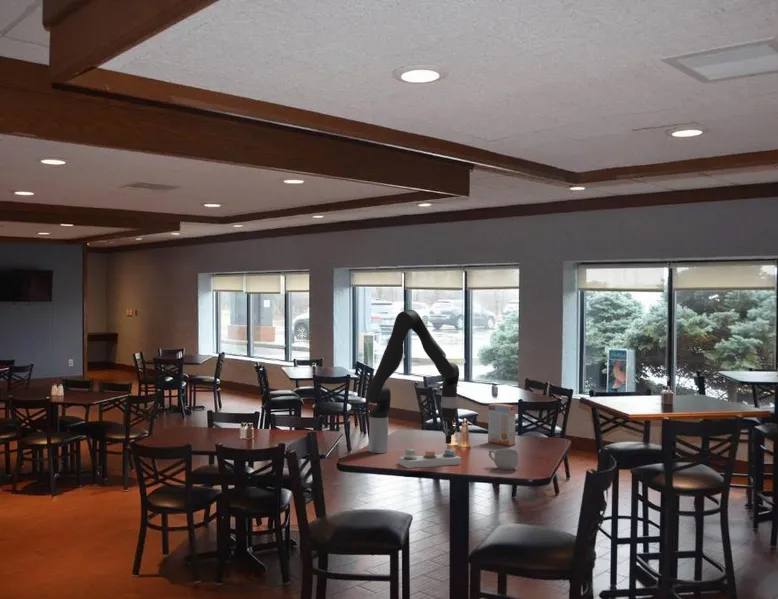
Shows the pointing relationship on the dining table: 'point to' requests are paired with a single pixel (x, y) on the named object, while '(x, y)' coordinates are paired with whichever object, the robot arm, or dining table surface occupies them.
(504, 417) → the cracker box
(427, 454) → the terracotta button
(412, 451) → the sage button
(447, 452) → the slate button
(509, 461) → the teacup
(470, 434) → the dining table surface
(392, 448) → the dining table surface
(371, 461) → the dining table surface
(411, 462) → the button panel
